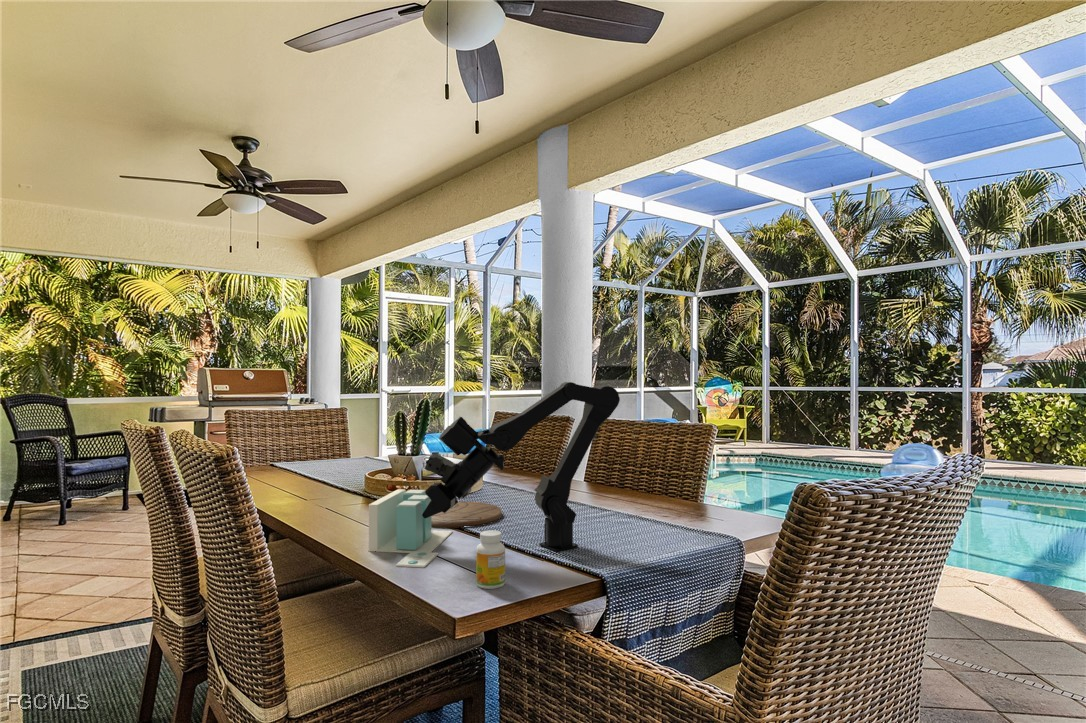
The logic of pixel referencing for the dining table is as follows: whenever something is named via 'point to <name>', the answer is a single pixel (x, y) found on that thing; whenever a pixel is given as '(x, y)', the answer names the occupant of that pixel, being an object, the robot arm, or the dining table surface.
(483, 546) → the supplement bottle
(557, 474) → the robot arm
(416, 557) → the card
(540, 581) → the dining table surface
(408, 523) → the teal tall block
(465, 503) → the trivet
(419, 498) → the teal upright block
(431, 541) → the l-shaped bookend
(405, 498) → the teal rectangular block
